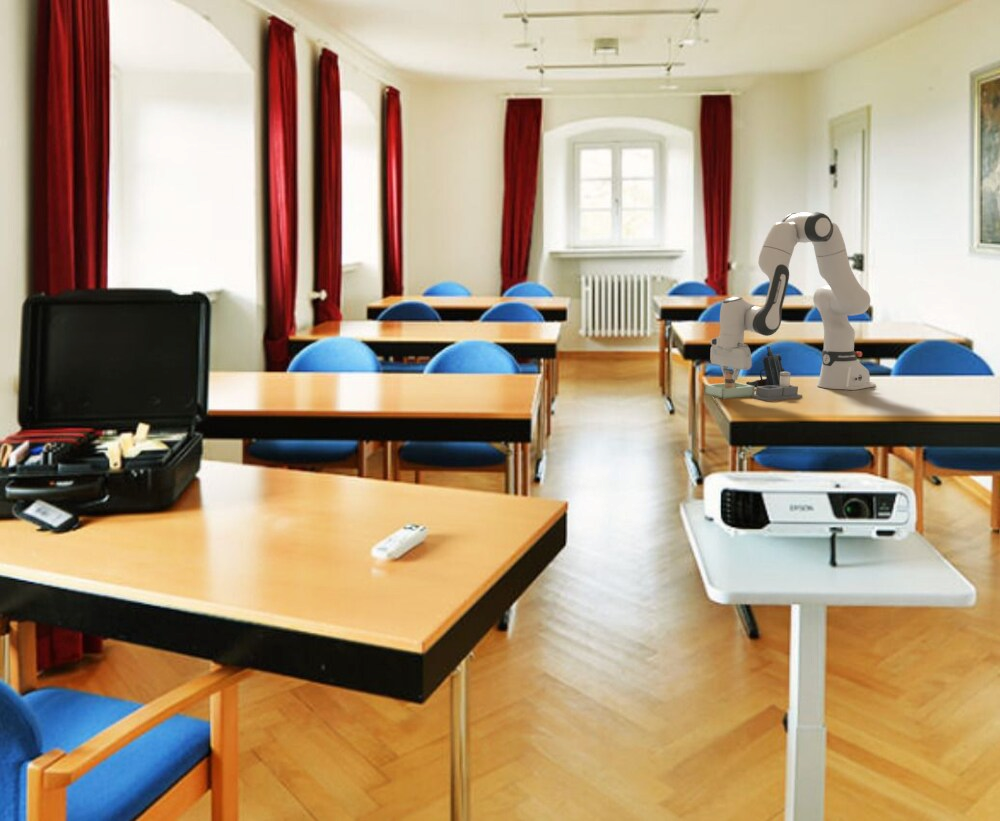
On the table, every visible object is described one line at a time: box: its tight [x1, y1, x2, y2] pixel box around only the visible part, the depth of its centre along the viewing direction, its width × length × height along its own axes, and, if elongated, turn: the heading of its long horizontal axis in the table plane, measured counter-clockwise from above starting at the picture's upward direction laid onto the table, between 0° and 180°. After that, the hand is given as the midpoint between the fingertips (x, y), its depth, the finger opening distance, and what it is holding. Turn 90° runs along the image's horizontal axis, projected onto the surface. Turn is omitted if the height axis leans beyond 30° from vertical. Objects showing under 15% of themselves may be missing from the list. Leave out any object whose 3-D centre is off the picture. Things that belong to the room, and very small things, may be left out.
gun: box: [745, 346, 786, 389], centre depth 387 cm, size 3×17×15 cm
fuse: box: [780, 371, 791, 387], centre depth 372 cm, size 4×4×8 cm
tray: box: [704, 381, 756, 400], centre depth 377 cm, size 14×11×4 cm
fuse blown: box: [724, 368, 736, 388], centre depth 376 cm, size 4×4×8 cm
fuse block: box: [750, 384, 803, 402], centre depth 371 cm, size 16×9×4 cm, turn 115°
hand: (730, 378), depth 376 cm, fingers closed on fuse blown, 3 cm apart
